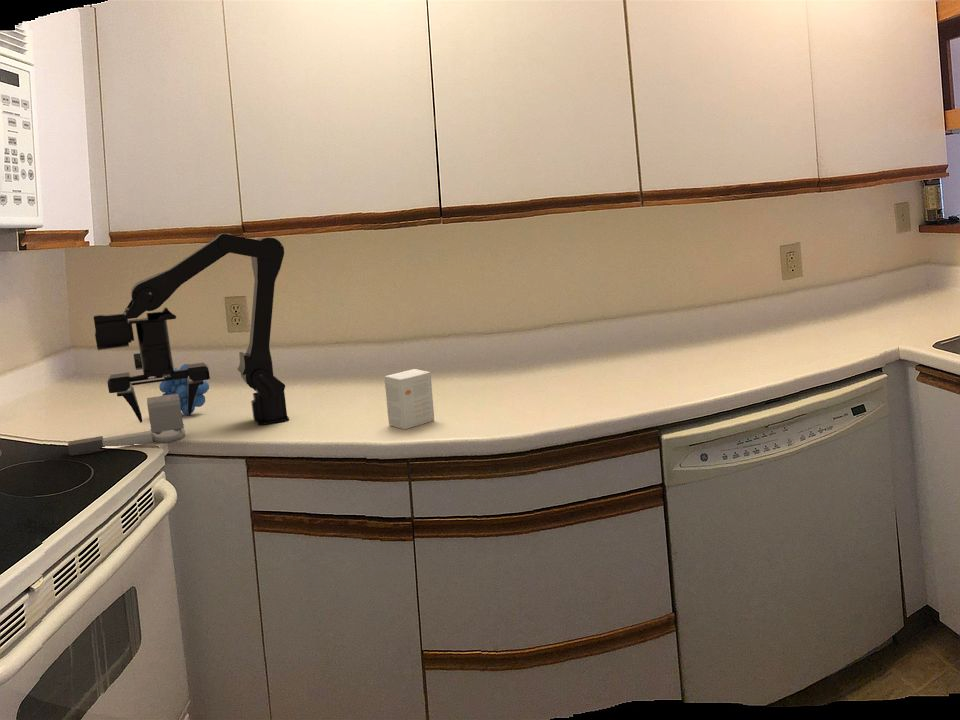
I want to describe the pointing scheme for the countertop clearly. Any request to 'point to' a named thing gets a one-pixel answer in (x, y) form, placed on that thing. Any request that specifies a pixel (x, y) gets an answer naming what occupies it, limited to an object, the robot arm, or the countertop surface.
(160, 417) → the grey rounded cube
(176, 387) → the grapes
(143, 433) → the ratchet
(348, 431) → the countertop surface
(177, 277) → the robot arm
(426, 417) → the small box
